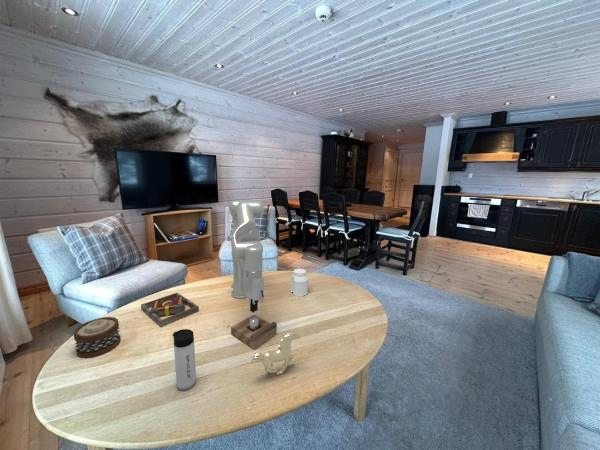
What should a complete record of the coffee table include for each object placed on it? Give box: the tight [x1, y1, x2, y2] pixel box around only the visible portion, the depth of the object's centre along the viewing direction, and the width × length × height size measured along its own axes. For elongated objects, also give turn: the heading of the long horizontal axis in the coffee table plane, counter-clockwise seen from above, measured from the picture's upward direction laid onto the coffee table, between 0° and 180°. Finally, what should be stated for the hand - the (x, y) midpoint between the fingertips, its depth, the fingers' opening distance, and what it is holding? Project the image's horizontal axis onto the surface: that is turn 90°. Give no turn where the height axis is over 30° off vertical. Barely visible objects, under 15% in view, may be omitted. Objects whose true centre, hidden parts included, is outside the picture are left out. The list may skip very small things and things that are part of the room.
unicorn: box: [249, 326, 301, 376], centre depth 90 cm, size 20×4×17 cm, turn 119°
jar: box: [290, 268, 309, 297], centre depth 157 cm, size 12×10×15 cm
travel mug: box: [171, 328, 197, 392], centre depth 84 cm, size 6×7×20 cm
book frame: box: [140, 292, 200, 328], centre depth 132 cm, size 24×19×3 cm
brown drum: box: [73, 316, 122, 359], centre depth 102 cm, size 15×11×15 cm
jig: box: [230, 314, 278, 350], centre depth 113 cm, size 16×14×6 cm
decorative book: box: [150, 296, 187, 318], centre depth 131 cm, size 11×16×5 cm
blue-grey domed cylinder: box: [250, 317, 258, 332], centre depth 113 cm, size 4×4×8 cm
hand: (253, 310), depth 112 cm, fingers closed
